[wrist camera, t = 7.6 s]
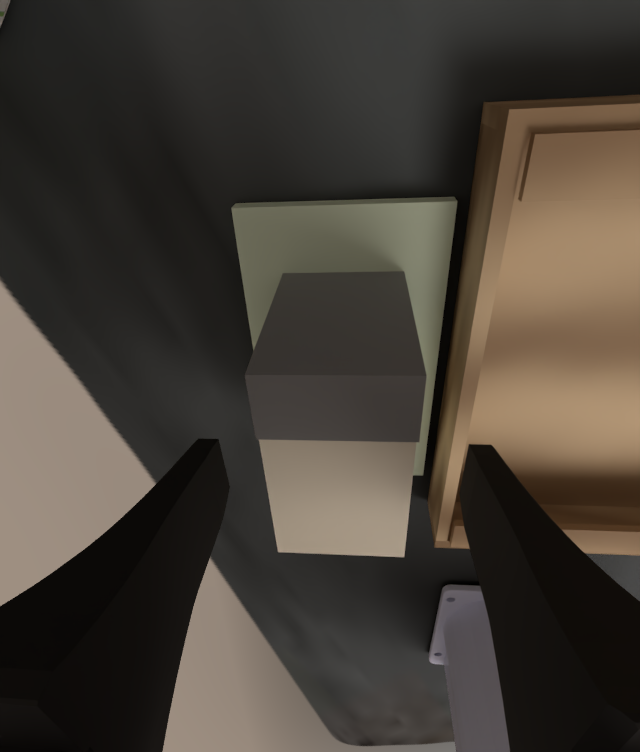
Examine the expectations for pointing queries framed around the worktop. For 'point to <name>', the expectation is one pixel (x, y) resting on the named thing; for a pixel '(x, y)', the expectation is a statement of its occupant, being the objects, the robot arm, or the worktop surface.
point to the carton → (550, 320)
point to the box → (338, 411)
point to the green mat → (353, 258)
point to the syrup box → (3, 9)
